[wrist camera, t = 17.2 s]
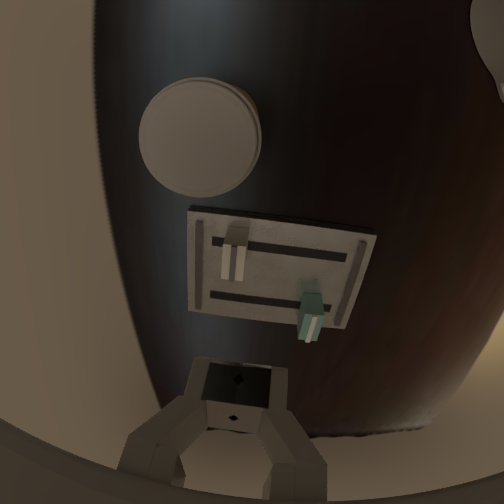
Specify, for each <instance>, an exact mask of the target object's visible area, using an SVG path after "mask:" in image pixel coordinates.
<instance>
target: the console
mask: <svg viewBox="0 0 504 504" xmlns="http://www.w3.org/2000/svg"><path fill="white" fill-rule="evenodd" d="M228 226H229V227H238V228H246V229H249V238H248V247H247V256H246V264H245V270H244V276H243V281H236V280H234V282H229V280H228V279H221V268H222V252H223V242H224V239H225V236H226V232H227V229H228ZM376 237H377V235H376V233H375V231H374V229H368V228H362V227H355V226H348V225H342V224H335V223H328V222H321V221H314V220H307V219H300V218H292V217H285V216H277V215H269V214H261V213H253V212H245V211H237V210H228V209H219V208H211V207H201V206H192V205H191V206H190V208H189V209H188V211H187V274H188V311H195V312H201V313H208V314H215V315H222V316H229V317H237V318H245V319H253V320H261V321H269V322H278V323H287V324H297V316H298V312H299V308H300V304H301V300H302V296H303V293H311V294H320V295H322V300H323V307H324V314H325V316H324V320H323V323H322V326H321V327H328V328H340V329H345V327H346V324H347V321H348V319H349V316H350V314H351V311H352V308H353V306H354V303H355V300H356V297H357V295H358V292H359V289H360V286H361V283H362V280H363V277H364V275H365V272H366V269H367V266H368V263H369V260H370V256H371V253H372V250H373V247H374V244H375V241H376Z"/></svg>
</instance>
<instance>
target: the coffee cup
mask: <svg viewBox="0 0 504 504" xmlns="http://www.w3.org/2000/svg"><path fill="white" fill-rule="evenodd" d="M261 143H262V133H261V126H260V122H259V114H258V110H257V107H256V105H255V103H254V101H253V100H252V98H251V97H250V96H249V95H248V94H247V93H246V92H245V91H244V90H242V89H240V88H239V87H237V86H234V85H231V84H228V83H225V82H223V81H220V80H217V79H213V78H208V77H192V78H186V79H182V80H179V81H177V82H174V83H172V84H170V85H168V86H167V87H165V88H164V89H163V90H161V91H160V92H159V93H158V94H157V95H156V96H155V97H154V98H153V99H152V100H151V102H150V103H149V104H148V106H147V108H146V109H145V112H144V114H143V116H142V119H141V123H140V128H139V145H140V151H141V154H142V158H143V160H144V162H145V164H146V166H147V168H148V170H149V171H150V172H151V174H152V175H153V176H154V177H155V179H156V180H158V181H159V182H160V183H161V184H162V185H164V186H165V187H166V188H168V189H170V190H172V191H174V192H176V193H179V194H182V195H185V196H190V197H199V198H203V197H213V196H217V195H220V194H223V193H226V192H228V191H230V190H232V189H233V188H235V187H236V186H238V185H239V184H240V183H241V182H242V181H243V180H244V179H245V178H246V177H247V176H248V175H249V174H250V172H251V171H252V169H253V168H254V166H255V164H256V162H257V160H258V157H259V154H260V150H261Z"/></svg>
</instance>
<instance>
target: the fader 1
mask: <svg viewBox="0 0 504 504" xmlns="http://www.w3.org/2000/svg"><path fill="white" fill-rule="evenodd" d="M248 238H249V229H246V228H238V227H229V226H228V229H227V232H226V236H225V239H224V242H223V252H222V268H221V279H228V280H229V282H234V280H236V281H243V276H244V270H245V264H246V256H247V247H248Z"/></svg>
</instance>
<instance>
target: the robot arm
mask: <svg viewBox="0 0 504 504" xmlns="http://www.w3.org/2000/svg"><path fill="white" fill-rule="evenodd" d="M470 23H471V30H472V35H473V38H474V42H475V45H476V47H477V50H478V52H479V54H480V56H481V58H482V60H483V62H484V64H485V65H486V67H487V68H488V70H489V71H490V73H491V74H492V76H493V78H494V80H495V82H496V86H497V90H498V93H499V96H500V99H501V100H502V102H503V103H504V0H473V1H472V4H471V9H470ZM287 381H288V370H287V368H281V367H271V366H265V365H255V364H246V363H235V362H229V361H223V360H217V359H211V358H206V357H200V356H196V357H195V359H194V361H193V365H192V368H191V372H190V375H189V379H188V382H187V386H186V389H185V393H184V396H178V397H177V398H176V399H174V400H173V401H172V402H170V403H169V404H168V405H167V406H165V407H164V408H163V409H162V410H160V411H159V412H158V413H157V414H155V415H154V416H153V417H151V418H150V419H149V420H148V421H147V422H145V423H144V424H142V425H141V426H140V427H138V428H137V429H136V430H134V431H133V432H132V433H130V434H129V435H128V438H127V441H126V444H125V447H124V450H123V452H122V455H121V458H120V461H119V464H118V467H117V470H115V469H112V468H109V467H106V466H103V465H101V464H98V463H95V462H92V461H90V460H87V459H84V458H82V457H79V456H77V455H74V454H72V453H69V452H67V451H65V450H62V449H60V448H58V447H55V446H53V445H51V444H49V443H47V442H45V441H42V440H41V439H39V438H36V437H34V436H32V435H30V434H28V433H26V432H25V431H22V430H20V429H19V428H17V427H15V426H13V425H11V424H10V423H8V422H6V421H4V420H3V419H1V418H0V504H504V472H500V473H498V474H494V475H491V476H488V477H485V478H481V479H478V480H474V481H471V482H467V483H463V484H459V485H455V486H451V487H447V488H442V489H437V490H432V491H427V492H421V493H416V494H409V495H403V496H396V497H387V498H378V499H368V500H355V501H354V500H353V501H328V502H327V464H326V462H325V460H324V459H323V458H322V456H321V455H320V453H319V452H318V450H317V449H316V448H315V446H314V445H313V443H312V442H311V440H310V439H309V437H308V436H307V434H306V433H305V432H304V430H303V429H302V427H301V426H300V424H299V423H298V421H297V420H296V418H295V417H294V415H293V414H292V412H291V411H286V406H287ZM207 427H213V428H221V429H229V430H236V431H242V432H249V433H256V434H257V435H258V437H259V439H260V441H261V443H262V445H263V447H264V449H265V450H266V452H267V454H268V456H269V458H270V460H271V462H272V464H273V467H272V469H271V471H270V473H269V475H268V478H267V480H266V482H265V484H264V486H263V493H262V499H252V498H243V497H235V496H228V495H221V494H214V493H208V492H202V491H197V490H192V489H187V488H183V486H184V481H185V476H186V475H185V472H184V469H183V465H182V462H181V459H180V455H181V454H182V453H183V452H184V451H185V450H186V449H187V448H188V447H189V446H190V445H191V444H192V443H193V442H194V441H195V440H196V439H197V438H198V437H199V436H200V435H201V434H202V433H203V432H204V431H205V430H206V429H207Z"/></svg>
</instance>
